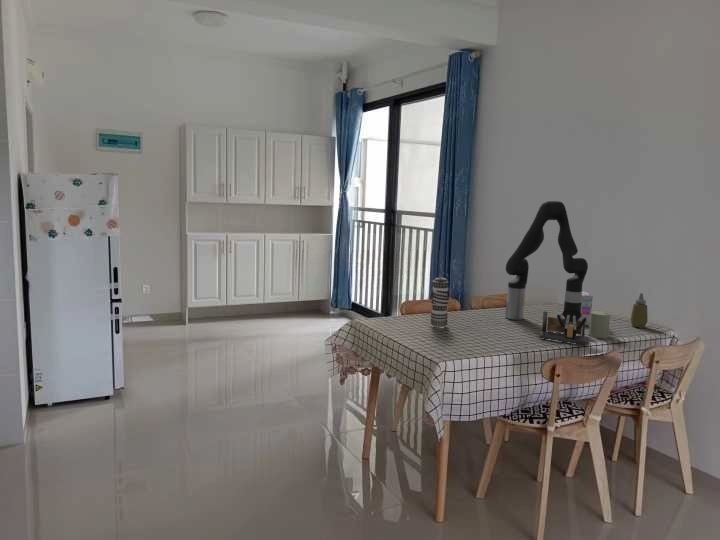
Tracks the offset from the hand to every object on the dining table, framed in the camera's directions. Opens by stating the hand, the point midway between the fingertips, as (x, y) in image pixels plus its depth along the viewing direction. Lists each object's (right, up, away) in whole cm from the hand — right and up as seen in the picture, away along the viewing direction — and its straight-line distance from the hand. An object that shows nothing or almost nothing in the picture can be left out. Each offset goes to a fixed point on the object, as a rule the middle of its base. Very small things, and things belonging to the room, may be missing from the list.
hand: (570, 336), depth 265 cm
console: (-3, -2, +2) cm, 4 cm away
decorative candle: (-59, +2, +23) cm, 63 cm away
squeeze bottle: (+47, +1, +31) cm, 57 cm away
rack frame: (+2, 0, +14) cm, 14 cm away
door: (+2, 0, +13) cm, 13 cm away
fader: (0, 0, 0) cm, 0 cm away
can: (+18, -1, +11) cm, 21 cm away
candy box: (+20, +2, +37) cm, 42 cm away
